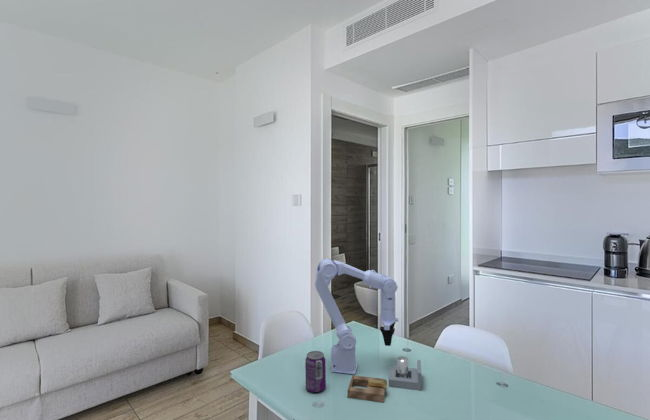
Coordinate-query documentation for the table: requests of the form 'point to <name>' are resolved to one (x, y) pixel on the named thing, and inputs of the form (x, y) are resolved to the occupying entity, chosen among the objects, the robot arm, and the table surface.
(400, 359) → the steel peg
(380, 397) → the socket block
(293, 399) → the table surface
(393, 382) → the grey square frame
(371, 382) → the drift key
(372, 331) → the table surface
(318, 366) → the beverage can
